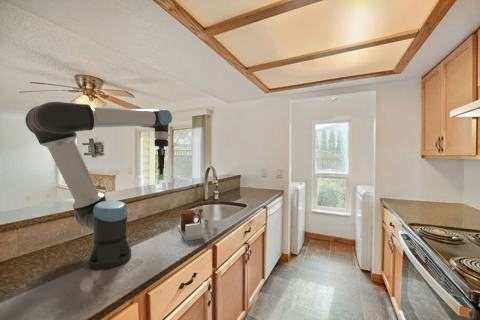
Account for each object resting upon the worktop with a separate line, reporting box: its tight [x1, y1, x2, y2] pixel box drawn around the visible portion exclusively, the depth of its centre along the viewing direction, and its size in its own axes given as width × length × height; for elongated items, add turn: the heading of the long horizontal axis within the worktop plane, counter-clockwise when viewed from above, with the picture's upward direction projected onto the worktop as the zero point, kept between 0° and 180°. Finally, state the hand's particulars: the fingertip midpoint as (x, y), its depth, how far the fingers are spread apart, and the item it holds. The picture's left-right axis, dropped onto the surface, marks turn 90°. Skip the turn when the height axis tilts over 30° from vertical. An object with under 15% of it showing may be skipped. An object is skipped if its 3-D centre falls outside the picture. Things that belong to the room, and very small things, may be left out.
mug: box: [179, 209, 200, 231], centre depth 115 cm, size 12×9×10 cm
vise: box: [176, 208, 204, 242], centre depth 115 cm, size 10×22×15 cm, turn 27°
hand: (160, 179), depth 118 cm, fingers closed
